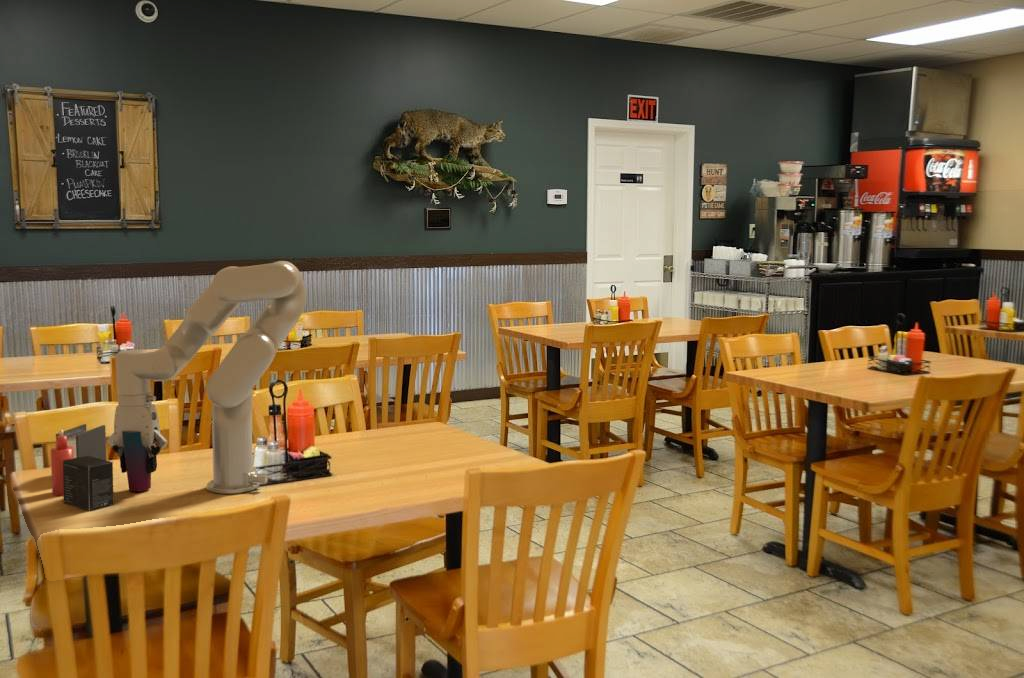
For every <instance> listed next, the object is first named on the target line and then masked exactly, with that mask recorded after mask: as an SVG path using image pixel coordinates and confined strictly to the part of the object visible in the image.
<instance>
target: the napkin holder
mask: <svg viewBox="0 0 1024 678" xmlns="http://www.w3.org/2000/svg"><path fill="white" fill-rule="evenodd" d="M106 433H107V432H106V425H105V424H102V425H99V426H97V427H94V428H91V429H88V430H87V424H86V423H83V424H80V425H78V426H75V427H72V428H69V429H67V430H63V436H67V446H71V447H73V448H74V458H79V457H84V456H90V457H94V458H98V459H102V460H106V461H108V460H107V436H106ZM57 436H60V432H58V433H55V438H56V437H57Z"/></svg>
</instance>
